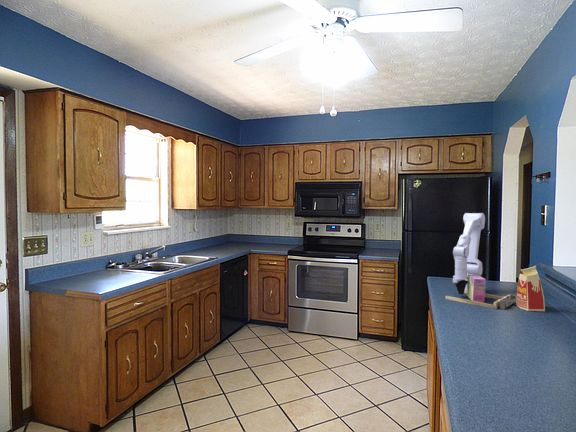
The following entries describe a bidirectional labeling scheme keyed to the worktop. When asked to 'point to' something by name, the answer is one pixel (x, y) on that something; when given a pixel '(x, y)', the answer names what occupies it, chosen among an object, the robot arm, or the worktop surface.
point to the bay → (501, 303)
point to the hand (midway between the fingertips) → (460, 294)
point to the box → (476, 288)
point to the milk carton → (530, 291)
